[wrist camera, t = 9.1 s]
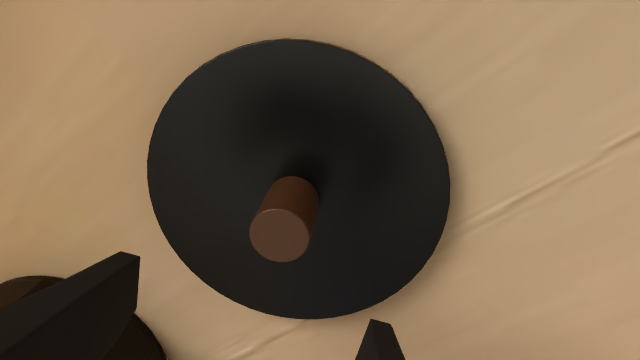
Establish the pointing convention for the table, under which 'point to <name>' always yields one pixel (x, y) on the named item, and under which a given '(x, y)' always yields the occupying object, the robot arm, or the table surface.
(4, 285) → the cooker
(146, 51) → the table surface
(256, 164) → the cooker lid
